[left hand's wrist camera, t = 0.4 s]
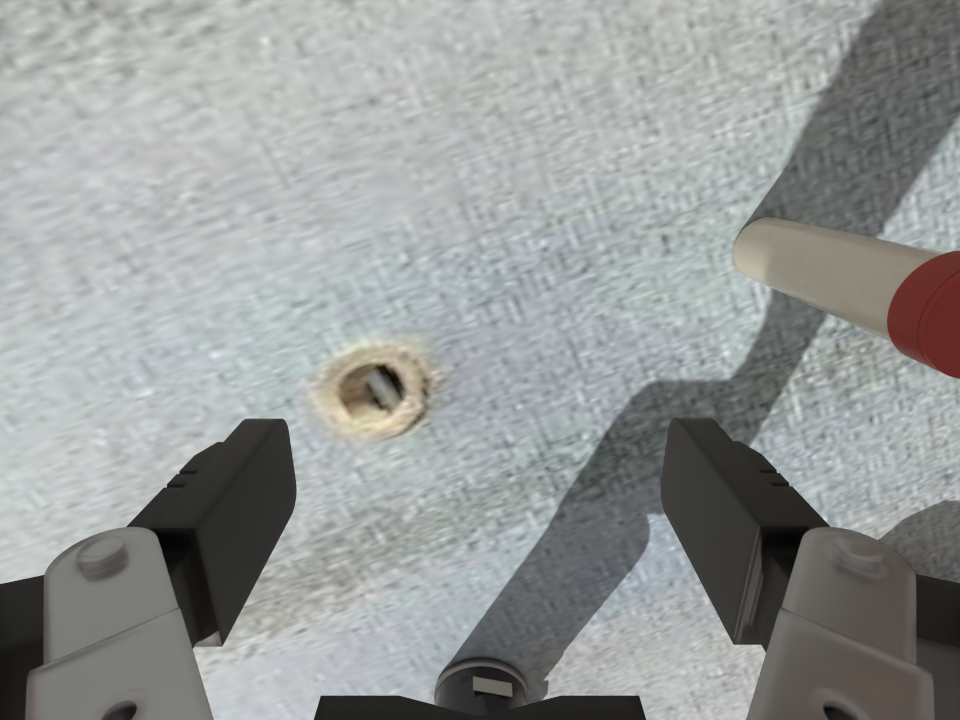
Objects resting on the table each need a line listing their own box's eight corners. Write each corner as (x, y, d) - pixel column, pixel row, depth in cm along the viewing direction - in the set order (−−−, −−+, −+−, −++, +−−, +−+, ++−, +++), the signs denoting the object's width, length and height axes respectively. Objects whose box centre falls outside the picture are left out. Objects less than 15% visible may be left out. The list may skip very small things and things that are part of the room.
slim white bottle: (807, 240, 39) (1060, 306, 22) (762, 290, 40) (968, 388, 23) (763, 204, 38) (992, 242, 21) (719, 256, 39) (900, 331, 22)
